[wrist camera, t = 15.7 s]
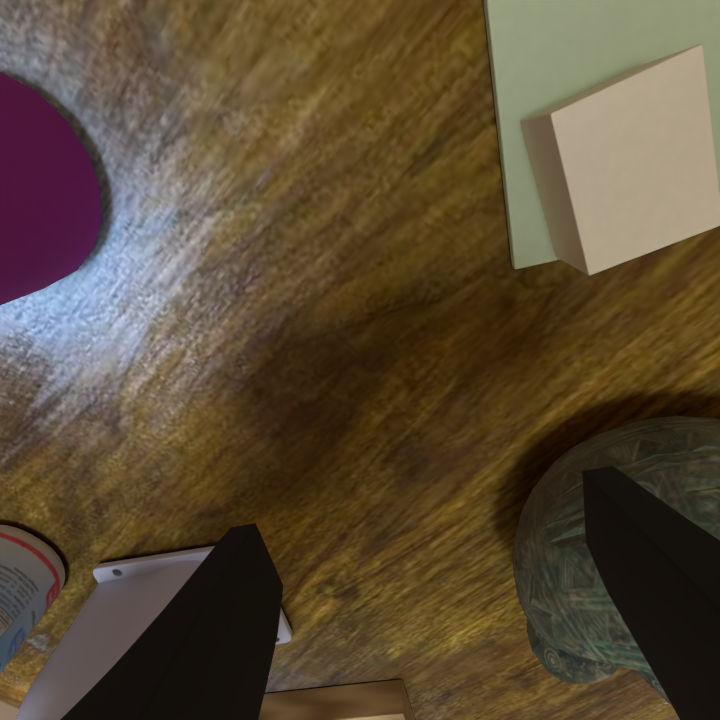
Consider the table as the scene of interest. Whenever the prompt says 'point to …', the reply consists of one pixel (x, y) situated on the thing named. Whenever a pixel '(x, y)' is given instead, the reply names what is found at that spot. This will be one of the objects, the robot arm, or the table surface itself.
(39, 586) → the pill bottle
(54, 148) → the beverage can
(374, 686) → the wooden frame
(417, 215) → the table surface
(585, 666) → the dark green rounded piece
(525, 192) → the runner
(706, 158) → the block
